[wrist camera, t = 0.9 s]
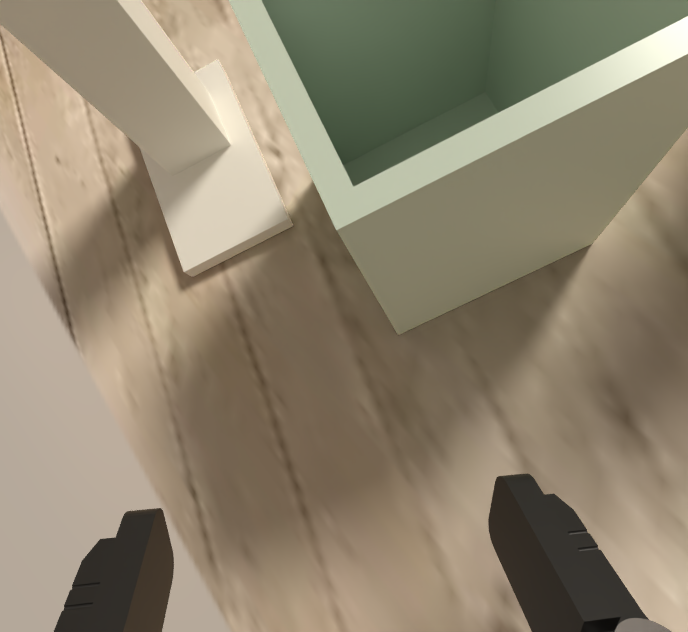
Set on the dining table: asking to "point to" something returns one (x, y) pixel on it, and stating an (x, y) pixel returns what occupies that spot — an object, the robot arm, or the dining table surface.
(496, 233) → the tote
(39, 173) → the dining table surface
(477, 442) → the dining table surface
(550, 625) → the robot arm
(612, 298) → the dining table surface
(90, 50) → the shelf stand
